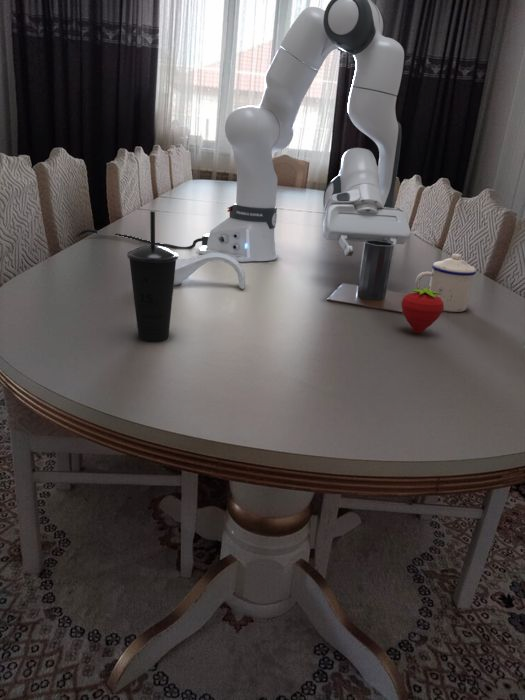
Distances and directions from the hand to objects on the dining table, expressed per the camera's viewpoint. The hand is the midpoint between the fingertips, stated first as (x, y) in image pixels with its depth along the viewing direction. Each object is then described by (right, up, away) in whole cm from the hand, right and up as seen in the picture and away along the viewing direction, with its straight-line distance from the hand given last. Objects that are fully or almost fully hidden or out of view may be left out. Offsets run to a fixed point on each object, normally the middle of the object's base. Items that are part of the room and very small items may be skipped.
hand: (369, 255), depth 118 cm
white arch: (-40, -7, -1) cm, 41 cm away
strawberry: (+5, -18, -21) cm, 28 cm away
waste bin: (0, -9, -1) cm, 9 cm away
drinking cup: (-42, -19, -33) cm, 57 cm away
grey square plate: (0, -10, -1) cm, 10 cm away
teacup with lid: (+15, -12, -2) cm, 19 cm away
